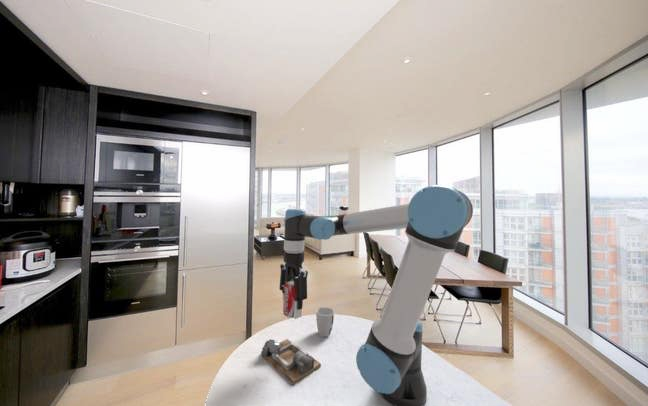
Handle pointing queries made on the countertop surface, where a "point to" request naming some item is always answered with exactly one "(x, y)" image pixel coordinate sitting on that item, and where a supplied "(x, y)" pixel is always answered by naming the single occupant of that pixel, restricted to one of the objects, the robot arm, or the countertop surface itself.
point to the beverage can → (289, 299)
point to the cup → (324, 320)
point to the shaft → (271, 348)
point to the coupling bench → (293, 362)
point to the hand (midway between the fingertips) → (291, 313)
